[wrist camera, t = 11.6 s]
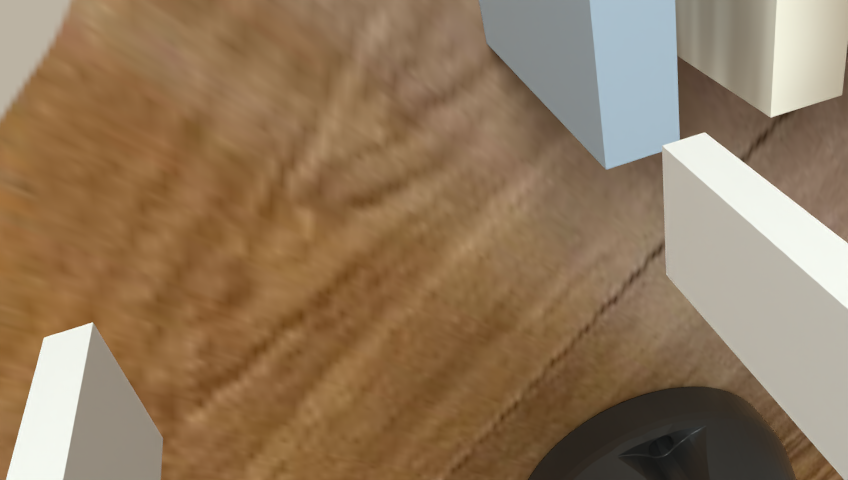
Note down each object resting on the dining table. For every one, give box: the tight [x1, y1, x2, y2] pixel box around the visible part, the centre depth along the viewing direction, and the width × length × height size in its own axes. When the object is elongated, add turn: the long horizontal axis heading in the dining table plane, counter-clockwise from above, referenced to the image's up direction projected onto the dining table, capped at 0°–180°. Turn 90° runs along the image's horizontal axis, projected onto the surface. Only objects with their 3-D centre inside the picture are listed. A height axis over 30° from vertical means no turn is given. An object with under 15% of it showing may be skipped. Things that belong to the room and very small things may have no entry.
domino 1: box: [479, 0, 680, 170], centre depth 22 cm, size 2×5×10 cm, turn 13°
